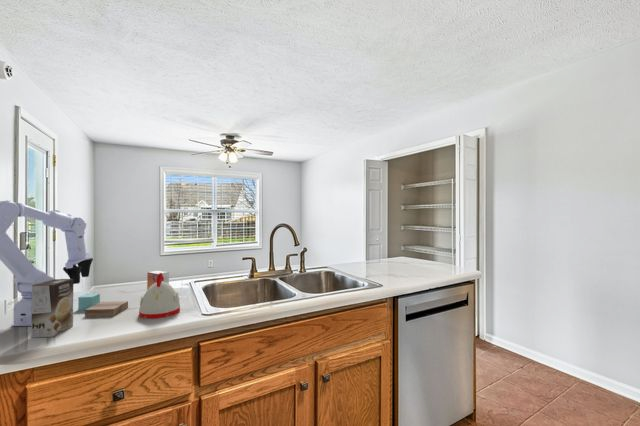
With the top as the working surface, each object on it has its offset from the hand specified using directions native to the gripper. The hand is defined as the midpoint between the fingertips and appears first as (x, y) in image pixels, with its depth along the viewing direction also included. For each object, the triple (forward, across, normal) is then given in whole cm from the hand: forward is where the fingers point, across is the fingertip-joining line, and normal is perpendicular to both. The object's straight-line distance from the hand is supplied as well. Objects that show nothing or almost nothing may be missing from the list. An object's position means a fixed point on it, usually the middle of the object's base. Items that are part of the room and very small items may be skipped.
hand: (81, 280), depth 125 cm
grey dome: (+11, -16, -32) cm, 37 cm away
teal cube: (+11, -4, -3) cm, 12 cm away
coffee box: (+7, -29, -4) cm, 30 cm away
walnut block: (+10, -11, -12) cm, 20 cm away
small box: (+14, +11, -24) cm, 30 cm away
